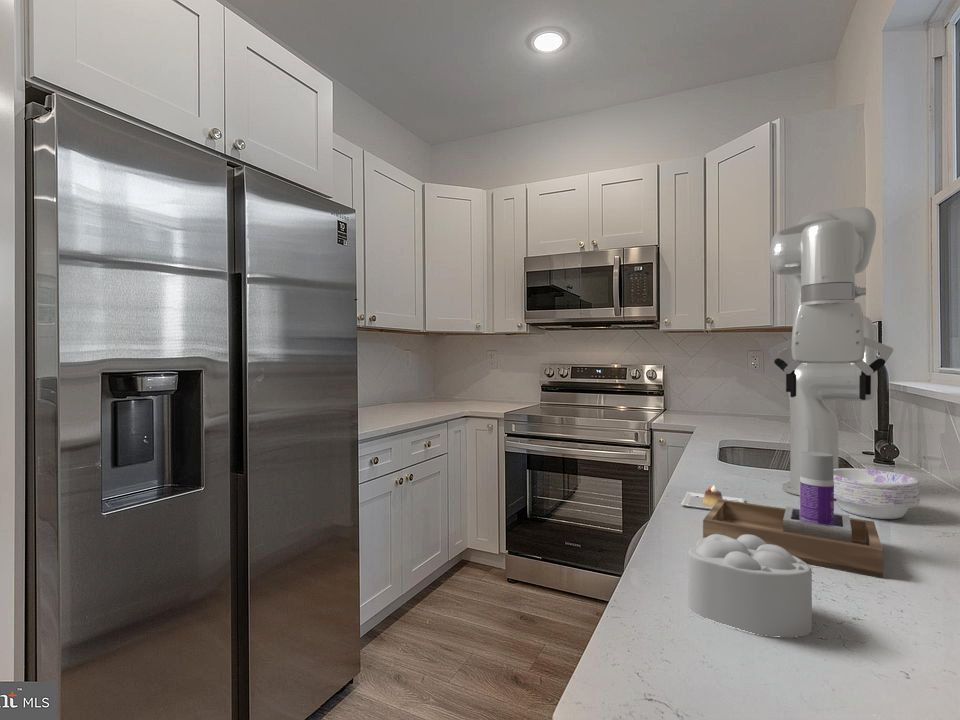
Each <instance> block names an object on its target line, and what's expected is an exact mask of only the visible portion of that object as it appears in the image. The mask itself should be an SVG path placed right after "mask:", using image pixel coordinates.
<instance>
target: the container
mask: <svg viewBox="0 0 960 720" xmlns="http://www.w3.org/2000/svg"><path fill="white" fill-rule="evenodd" d="M834 503H835V499H834V473H833V455H832V454H829V453H823V452H812V451H805V452H801V466H800V496H799V508H800V520H801V521H807V522H814V523H820V524H827V525H833V526H834V513H835V511H834V510H835V505H834Z"/></svg>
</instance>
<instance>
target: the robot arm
mask: <svg viewBox="0 0 960 720" xmlns="http://www.w3.org/2000/svg"><path fill="white" fill-rule="evenodd" d="M876 232H877V223H876V218H875V216H874V214H873V212H872V211H871V210H870V209H869V208H868V207H865V206H855V207H854V206H853V207H848V208H847V207H845V208H838V209H832V210H831V209H829V210H821V211H815V212H812V213H808V214H807V215H805V216H803V217H802V218H801V219H800V220H799V221H798V222H797V223H796V225H792V226H790V227H785V228H783V229H780V230H778V231H776V232H775V234H774V235H773V237H772V239H771V241H770V246H769V256H768V258H769V264H770V267H771V269H772V271H773V272H774V273H775V274H776V275H779V276H782V278H783V282H784V284H785V286H786V288H787V290H788V293H789V295H790V298H791V300H792V301H791V302H792V330H791V333H792V334H791V338H789V339H787V340H786V341H782V342H781V343H778V344H776V345H774V346H772V347H769V349H768V350H767V352H768V354H769V356H770V358H771V359H772V361H773V363H774V365H776V366H777V368H779V369H781V370H782V371H783V372H784V374H785V392H786V393H788V399H789V417H790V419H789V422H790V424H789V425H790V426H789V427H790V428H789V429H790V430H789V431H790V432H789V433H790V434H789V435H790V438H789V439H790V440H789V441H790V443H789V444H790V449H789V450H790V451H789V453H790V454H789V456H790V457H789V461H790V464H789V465H790V466H789V468H790V469H789V472H790V473H789V475H790V476H789V478H790V479H789V481H787V482H783V484H782V490H784V491H785V492H786V493H789V494H792V495H796V496H799V497H800V466H801V452H805V451H812V452H823V453H829V454H832V455H833V469H839V420H838V417H837V415H836V414H835V413H834V411H832V409H830V407H829V406H827V404H826V403H825V402H827V401H838V402H840V401H842V402H843V401H845V402H866V401H867V402H868V401H871V400H872V399H874V398H875V396H876V394H877V393H878V392H877V391H878V387H879V386H878V383H879V382H878V378H879V377H878V370H880V369H881V368H882V367H883V366H884V365H886V363H887V361H888V360H889V359H890V358H891V356H892V354H893V353H894V348H893V347H892V346H889V345H886V344H884V343H882V342H878V341H876V340H877V337H876V331H875V330H876V329H875V325H874V323H873V322H872V320H871V318H869V317H868V316H866V315H864V313H863V310H862V309H863V308H862V306H861V303H860V302H856V300H855V299H857V298H859V297H860V298H861V296H867V287H865V286H864V287H861V286H858V285H856V279H855V278H856V275H857V274H860V273H862V272H864V271H865V270H866V269H867V267H868V266H869V263H870V259H871V255H872V250H873V246H874V243H875V238H876ZM789 348H791V349H790V350H791V358H792V361H791V362H790V363H787V362H786V361H784V360H783V359H782V357H781V356H780V352H783V351H784V350H785V351H786V349H789ZM877 352H879V355H878V357H877ZM834 500H836V498H834Z"/></svg>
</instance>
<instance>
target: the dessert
mask: <svg viewBox="0 0 960 720" xmlns="http://www.w3.org/2000/svg"><path fill="white" fill-rule="evenodd" d="M691 496H692V497H695V496H699V497H698V498H702V502H701V504H702V505H705V506H700V505H693V504H692V505H691V504H690V502H691V500H690V498H691V499H692V497H691ZM703 497H704V498H703ZM719 499H722V500H723V499H727V500H738V501H739V502H743V503H745V498H743V497H733V496H725V495H724V496H723V494H722V492H721V491H719V490H718V488H717V486H715V484H713V485H712V487H707V489H706V490H705V492H704V493H700V492H691V491H686V492H685V494H684V497H683V498H682V501H681V503H680V505H681V506H682V507H684V508H692V509H698V510H699V509H700V510H705V509H706V511H710V510H711V509H712V508H713V507H714V505H715V504H716V503H717V501H718V500H719ZM706 506H707V507H706ZM711 506H713V507H711Z"/></svg>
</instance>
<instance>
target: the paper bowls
mask: <svg viewBox="0 0 960 720" xmlns="http://www.w3.org/2000/svg"><path fill="white" fill-rule="evenodd" d="M833 473H834V498H836V499H835V500H836V502H837V503H838V505H839V507H840V508H841V509H842V510H843V511H845V512H846V513H849V514H852V515H855V516H859V517H864V518H865V517H866V518H869V517H870V518H871V519H879V520H897V519H900V518H902V517H904V516H905V514H906V513H907V512H908V510H909V509H910V508H916V507H919V506H920V501H921V500H920V498H921V496H920V495H921V493H920V485H921V484H920V480H918V479H917V478H916V477H913V476H911V475H907V474H904V473H903V474H902V473H898V472H892V471H887V470H879V469H871V468H870V469H869V468H857V467H856V468H855V467H853V468H852V467H847V468H845V467H843V468H842V467H841V468H840V467H839V468H838V469H833Z"/></svg>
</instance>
